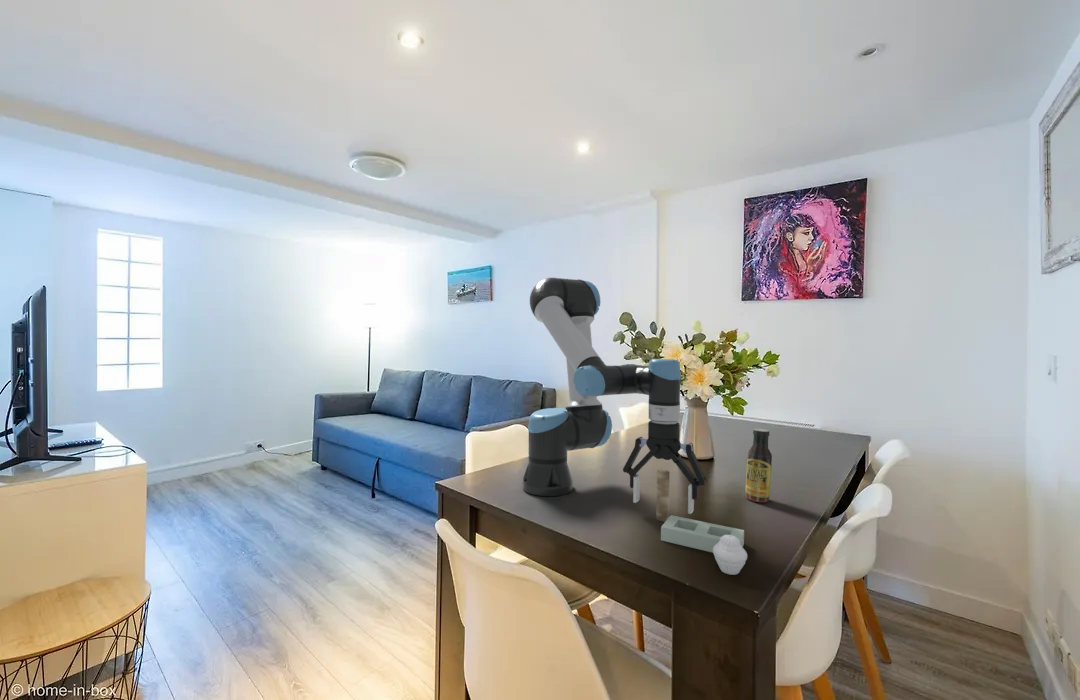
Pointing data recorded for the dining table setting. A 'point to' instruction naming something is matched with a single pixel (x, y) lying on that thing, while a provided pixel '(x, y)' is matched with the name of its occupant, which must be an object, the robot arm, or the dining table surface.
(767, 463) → the sauce bottle
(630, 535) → the dining table surface
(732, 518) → the dining table surface
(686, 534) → the hole block
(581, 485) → the dining table surface
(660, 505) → the peg
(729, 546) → the muffin
